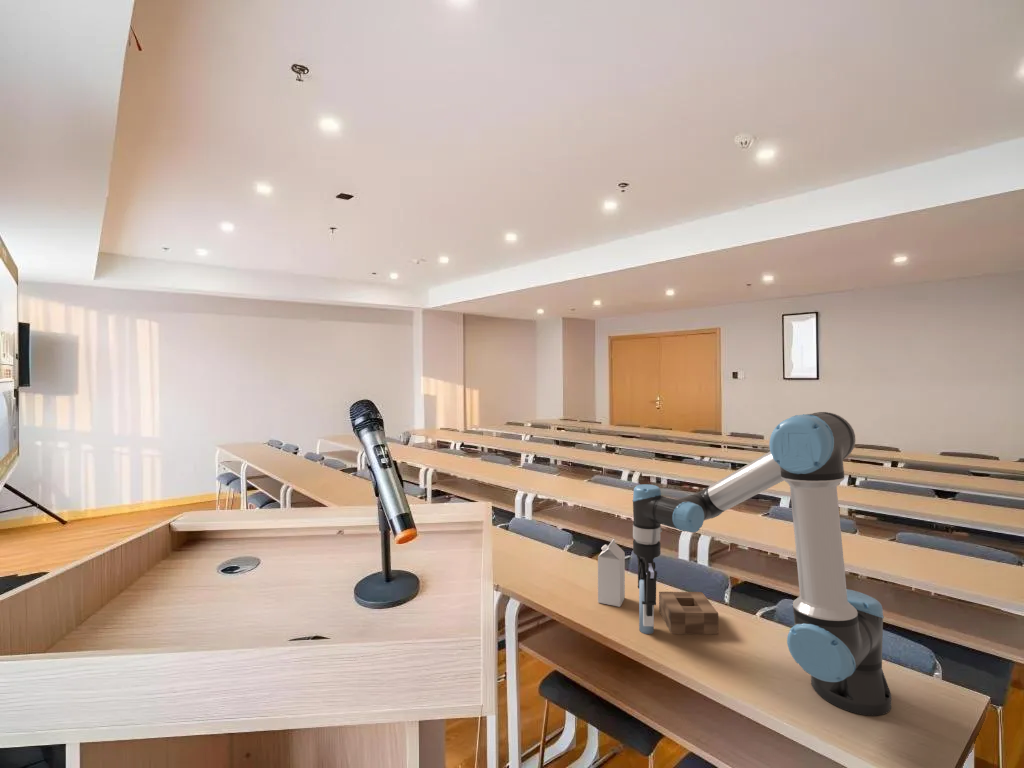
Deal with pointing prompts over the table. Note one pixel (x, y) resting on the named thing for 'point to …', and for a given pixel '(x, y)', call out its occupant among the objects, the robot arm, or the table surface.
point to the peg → (641, 598)
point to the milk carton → (611, 575)
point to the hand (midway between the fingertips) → (646, 621)
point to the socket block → (688, 613)
